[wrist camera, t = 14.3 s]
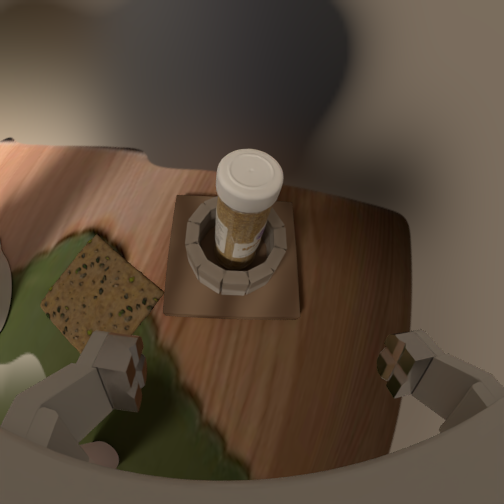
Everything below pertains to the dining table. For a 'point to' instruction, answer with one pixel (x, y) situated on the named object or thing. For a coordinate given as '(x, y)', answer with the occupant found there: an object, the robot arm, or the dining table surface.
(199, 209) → the collar stand
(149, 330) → the dining table surface
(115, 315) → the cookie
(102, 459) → the smoothie
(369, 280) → the dining table surface
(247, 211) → the sprinkles bottle
